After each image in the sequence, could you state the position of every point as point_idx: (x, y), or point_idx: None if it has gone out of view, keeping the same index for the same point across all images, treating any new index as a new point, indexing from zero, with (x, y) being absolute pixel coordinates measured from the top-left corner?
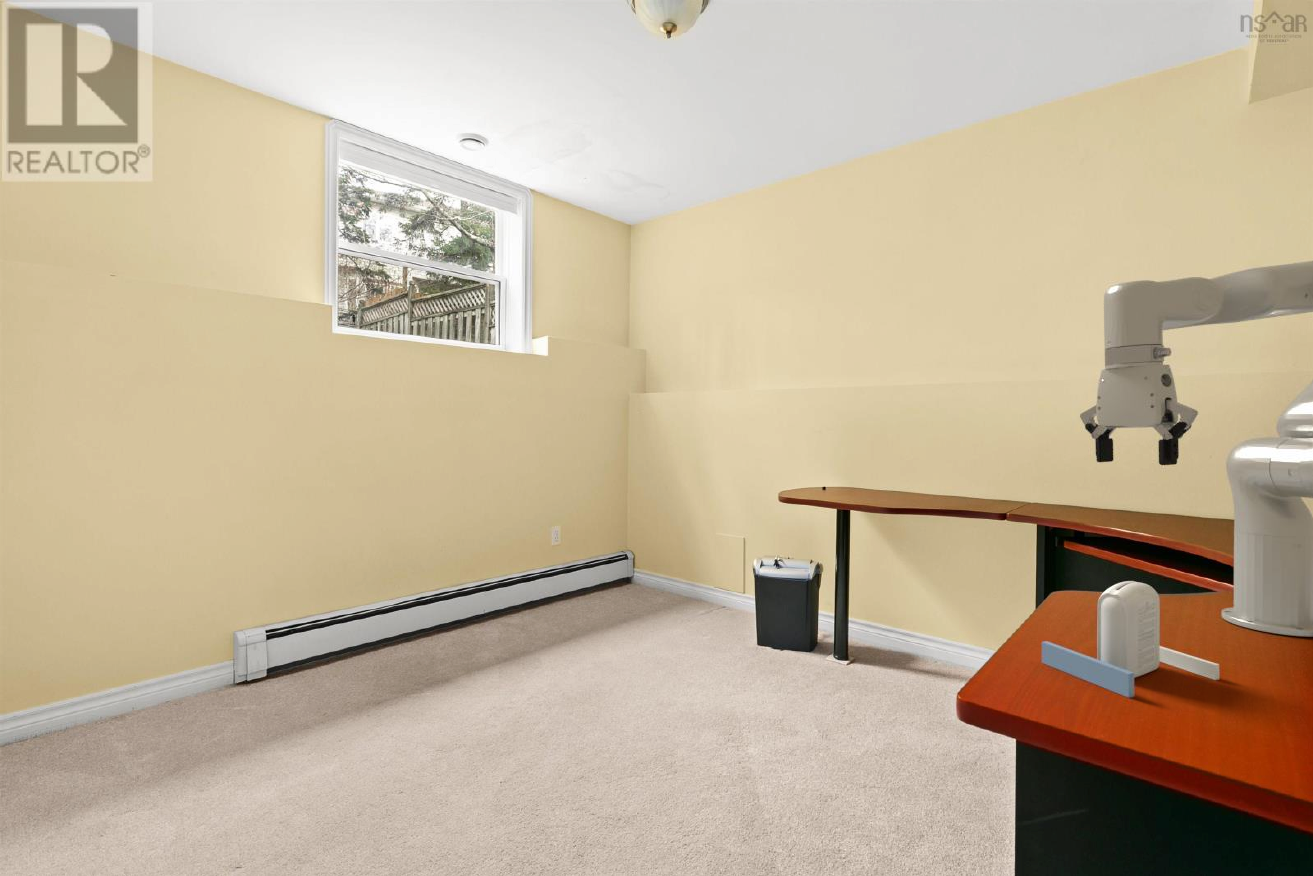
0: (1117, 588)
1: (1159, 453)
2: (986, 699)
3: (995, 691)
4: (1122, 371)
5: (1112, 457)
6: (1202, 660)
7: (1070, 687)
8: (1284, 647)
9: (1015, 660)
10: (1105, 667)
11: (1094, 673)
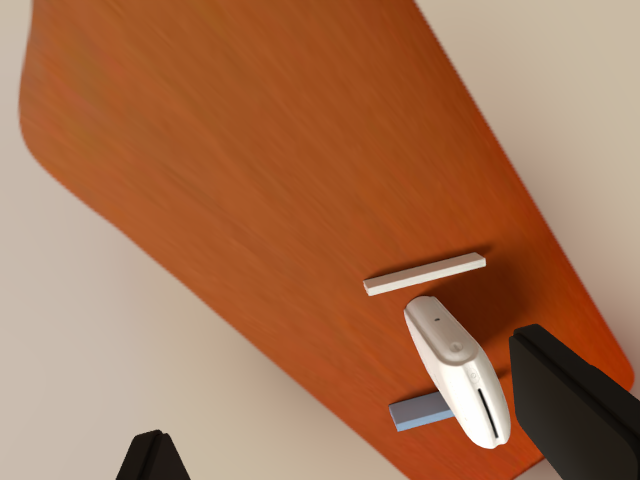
0: (494, 435)
1: (561, 470)
2: None
3: None
4: None
5: (162, 453)
6: (469, 267)
7: (454, 420)
8: (398, 19)
9: (377, 434)
10: None
11: None
